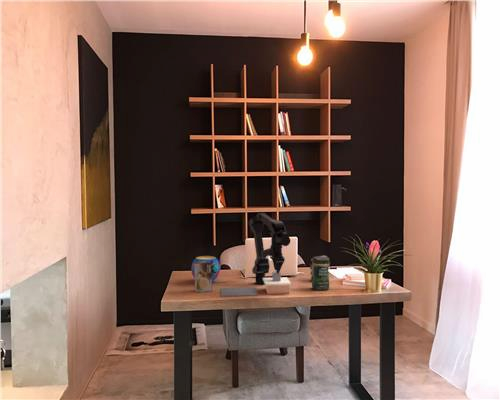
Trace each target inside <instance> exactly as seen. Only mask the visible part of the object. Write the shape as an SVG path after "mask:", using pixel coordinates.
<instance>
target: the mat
mask: <svg viewBox="0 0 500 400" xmlns="http://www.w3.org/2000/svg"><path fill="white" fill-rule="evenodd" d="M255 296H256V297H257V296H258V297H259V293H258V290H257V287H256V286H249V287H248V286H246V287H245V286H243V287H242V286H240V287H239V286H238V287H220V297H255Z"/></svg>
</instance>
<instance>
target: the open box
mask: <svg viewBox="0 0 500 400" xmlns="http://www.w3.org/2000/svg"><path fill="white" fill-rule="evenodd" d="M264 290H265V292H266V295H289V294H290V285H270V286H265V285H264Z"/></svg>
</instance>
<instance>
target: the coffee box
mask: <svg viewBox="0 0 500 400" xmlns="http://www.w3.org/2000/svg"><path fill="white" fill-rule="evenodd" d="M194 267H195V278H194V290H195V292H196V293H202V292H204V293H205V292H213V281H212V262H210V261H200V262H194Z"/></svg>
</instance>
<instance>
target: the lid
mask: <svg viewBox="0 0 500 400" xmlns="http://www.w3.org/2000/svg"><path fill="white" fill-rule="evenodd" d="M271 274H272V275H271V276H272V277H265V278H263V281H264V287H265V286H270V285H289V286H292V283H291V281H290V280H289V278H288V277H287V276H286V277H282V276H281V275H282V273H281V271H280V272H279V273H278V274H277V272H276V271H272V273H271Z"/></svg>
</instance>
